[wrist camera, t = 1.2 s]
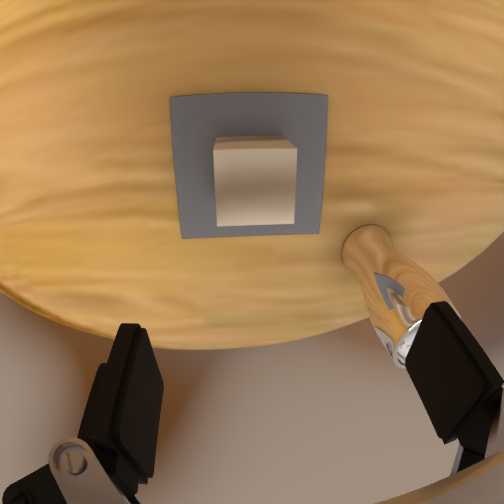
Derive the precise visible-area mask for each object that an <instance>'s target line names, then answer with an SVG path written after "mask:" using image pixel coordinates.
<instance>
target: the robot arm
mask: <svg viewBox="0 0 504 504" xmlns="http://www.w3.org/2000/svg"><path fill="white" fill-rule="evenodd" d="M405 367H406V369H407V371H408V373H409V375H410V377H411V379H412V381H413V383H414V386H415V388H416V390H417V392H418V394H419V396H420V398H421V400H422V402H423V404H424V406H425V409H426V410H427V413H428V415H429V417H430V419H431V422H432V424H433V426H434V428H435V431H436V433H437V435H438V437H439V438H441V439H442V440H443V442H444V444H447V443H449V442H452V441H454V440H456V439H457V438H458V440H459V442H460V443H459V447H458V451H457V454H456V457H455V461H454V464H453V467H452V470H451V474H450V476H449V477H447V478H444V479H442V480H440V481H438V482H435V483H433V484H430V485H428V486H425V487H423V488H420V489H417V490H415V491H412V492H409V493H406V494H404V495H400V496H398V497H395V498H391V499H388V500H385V501H382V502H379V503H375V504H504V389H503V388H502V385H503V383H504V380H503V379H502V377H501V376H500V374H499V373H498V371H497V370H496V368H495V367H494V365H493V364H492V362H491V361H490V359H489V358H488V356H487V355H486V353H485V352H484V351H483V349H482V348H481V346H480V345H479V344H478V342H477V341H476V339H475V338H474V336H473V335H472V334H471V332H470V331H469V330H468V328H467V327H466V326H465V324H464V323H463V321H462V320H461V319H460V317H459V316H458V315H457V314H456V312H455V311H454V310H453V308H452V307H451V306H450V305H449V303H448V302H447V301H440V302H434V303H431V304H430V305H429V307H428V308H427V309H426V310H425V313H424V315H423V318H422V320H421V323H420V325H419V328H418V330H417V333H416V335H415V338H414V340H413V342H412V345H411V347H410V349H409V351H408V354H407V356H406V358H405ZM163 390H164V386H163V380H162V376H161V374H160V371H159V368H158V365H157V362H156V359H155V356H154V353H153V350H152V346H151V343H150V340H149V337H148V334H147V331H146V329H145V328H141V326H140V325H139V324H132V323H122V324H120V326H119V329H118V332H117V335H116V338H115V341H114V343H113V346H112V349H111V352H110V356H109V358H108V362H107V363H102V364H101V365H100V366H99V368H98V370H97V373H96V376H95V379H94V382H93V385H92V389H91V392H90V395H89V398H88V401H87V405H86V408H85V412H84V415H83V418H82V422H81V426H80V429H79V433H78V437H77V438H75V437H72V438H71V437H70V438H64V439H61V440H60V441H58V442H57V443H55V445H54V446H53V447H52V448H51V451H50V453H49V461H48V464H47V465H45V466H43V467H42V468H40V469H38V470H36V471H34V472H33V473H31V474H30V475H27V476H26V477H24V478H22V479H20V480H18V481H17V482H15V483H13V484H11V485H10V486H9V487H7V488H6V490H5V492H4V494H3V498H2V501H3V504H143V503H142V502H141V501H140V499H139V498H138V497H137V496H136V493H137V490H138V483H139V484H147V482H148V477H150V478H152V477H153V474H154V464H155V454H156V445H157V437H158V427H159V420H160V412H161V405H162V397H163Z"/></svg>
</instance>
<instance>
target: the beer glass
mask: <svg viewBox="0 0 504 504" xmlns="http://www.w3.org/2000/svg"><path fill="white" fill-rule="evenodd" d="M342 259H343V262H344V264H345V265H346V267H347V268H348V269H349V270H350V271H351V272H352V273H353V274H354V275H355V276H356V277H357V279H358V281H359V283H360V287H361V290H362V294H363V298H364V301H365V305H366V308H367V311H368V314H369V317H370V320H371V322H372V324H373V326H374V328H375V330H376V332H377V334H378V336H379V338H380V339H381V341H382V343H383V344H384V346H385V348H386V349H387V351H388V352H389V354H390V355H391V357H392V359H393V361H394V363H395V364H396V365H397V366H398V367H400V368H402V369H406V367H405V358H406V356H407V354H408V351H409V349H410V347H411V345H412V342H413V340H414V338H415V335H416V333H417V330H418V328H419V325H420V323H421V320H422V318H423V315H424V313H425V310H426V309H427V308H428V307H429V305H430V304H431V303H434V302H440V301H447V302H448V303H449V305H450V306H451V307H452V308H453V310H454V311H455V312H456V314H457V315H458V316H459V317H460V319H461V316H460V314H459V313H458V312H457V310H456V309H455V307H454V306H453V304H452V303H451V301H450V300H449V298H448V296H447V295H446V293H445V292H444V291H443V290H442V288H441V287H440V285H439V284H438V283H437V282H436V280H435V279H434V278H433V277H432V276H431V275H430V274H429V273H428V272H427V271H426V270H424V269H423V268H422V267H421V266H420V265H418V264H417V263H415V262H414V261H413V260H411V259H410V258H408V257H407V256H405V255H404V254H403V253H401V252H400V251H399V250H398V249H397V248H396V247H395V246H394V244H393V242H392V240H391V238H390V236H389V234H388V233H387V232H386V231H385V230H384V229H383V228H381V227H379V226H376V225H366V226H362V227H360V228H358V229H356V230H355V231H353V232H352V233H351V234H350V235H349V236H348V238H347V239H346V241H345V242H344V245H343V248H342ZM461 320H462V319H461Z"/></svg>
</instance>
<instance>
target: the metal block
mask: <svg viewBox="0 0 504 504" xmlns="http://www.w3.org/2000/svg"><path fill="white" fill-rule="evenodd" d="M213 158H214V179H215V198H216V215H217V227H218V226H243V225H272V224H294V215H295V194H296V171H297V148H296V147H295V146H294V145H293V144H292V143H291V142H290V141H289V140H287V139H286V138H285V137H284V136H238V137H216V141H215V145H214V149H213Z"/></svg>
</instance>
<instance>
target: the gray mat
mask: <svg viewBox="0 0 504 504" xmlns="http://www.w3.org/2000/svg"><path fill="white" fill-rule="evenodd" d="M327 109H328V95H316V94H298V93H221V94H203V95H189V96H178V97H170V113H171V129H172V144H173V157H174V168H175V180H176V190H177V200H178V209H179V218H180V227H181V235H182V239H191V238H214V237H238V236H264V235H293V234H319V230H320V220H321V208H322V196H323V183H324V169H325V152H326V133H327ZM238 136H284V137H285V138H286V139H287V140H289V141H290V142H291V143H292V144H293V145H294V146H295V147H296V148H297V171H296V194H295V215H294V224H272V225H243V226H218V227H217V215H216V198H215V179H214V158H213V149H214V145H215V141H216V137H238Z"/></svg>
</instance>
